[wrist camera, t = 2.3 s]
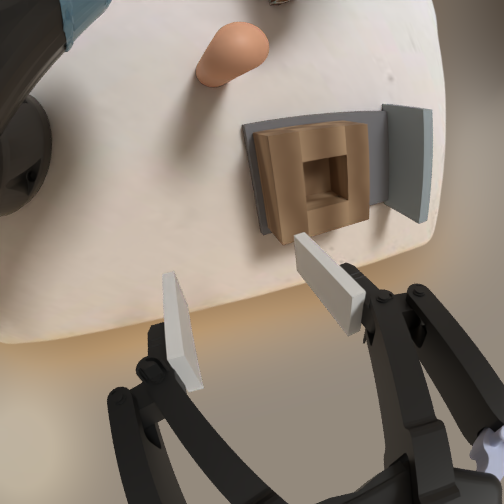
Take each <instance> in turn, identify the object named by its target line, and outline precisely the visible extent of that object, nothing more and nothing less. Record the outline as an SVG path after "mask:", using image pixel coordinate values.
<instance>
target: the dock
mask: <svg viewBox="0 0 504 504" xmlns="http://www.w3.org/2000/svg"><path fill="white" fill-rule="evenodd" d="M382 109H383V111H355V112H337V113H325V114H314V115H304V116H296V117H288V118H281V119H274V120H267V121H261V122H255V123H250V124H244V125H242V126H243V132H244V137H245V143H246V149H247V154H248V160H249V166H250V171H251V177H252V183H253V189H254V195H255V201H256V206H257V212H258V218H259V224H260V230H261V233H262V234H263V235H266V234H269V233H272V232H271V231H270V229H269V228H268V225H267V218H266V212H265V206H264V199H263V193H262V187H261V180H260V174H259V168H258V162H257V156H256V150H255V144H254V138H253V132H259V131H264V130H270V129H276V128H283V127H289V126H297V125H304V124H312V123H321V122H331V121H342V120H343V121H350V122H357V123H364V124H368V141H369V168H370V203H369V205H373V204H377V203H380V202H384V204H385V205H387V206H389V207H390V208H392V209H394V210H396V211H398V212H399V213H401V214H403V215H405V216H406V217H408V218H410V219H412V220H413V221H415V222H417V223H418V224H420V223H422V222H425V221H427V218H428V210H429V201H430V191H431V178H432V158H433V119H432V110H430V109H424V108H417V107H410V106H402V105H393V104H382Z"/></svg>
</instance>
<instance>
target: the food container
mask: <svg viewBox="0 0 504 504" xmlns="http://www.w3.org/2000/svg"><path fill="white" fill-rule="evenodd" d="M289 1H291V0H269V3H270V5H280V4H283V3H286V2H289Z"/></svg>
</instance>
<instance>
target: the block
mask: <svg viewBox="0 0 504 504" xmlns="http://www.w3.org/2000/svg"><path fill="white" fill-rule="evenodd" d="M253 138H254V144H255V150H256V156H257V162H258V168H259V174H260V180H261V187H262V193H263V199H264V206H265V212H266V218H267V225H268V228H269V229H270V231H271V232H272V233H273V234H274V235H275V236H276V238H277V239H278V240H279V241H280V242H281V243H282V245H285V244H289V243H292V242H294V235H296V234H300V233H303V232H305V233H306V234H307V235H308V236H309V237H312V236H315V235H318V234H322V233H325V232H328V231H332V230H335V229H338V228H342V227H345V226H348V225H352V224H355V223H358V222H361V221H365V220H368V219H369V203H370V168H369V141H368V124H364V123H357V122H350V121H343V120H342V121H331V122H321V123H312V124H304V125H297V126H289V127H283V128H276V129H270V130H264V131H259V132H253Z"/></svg>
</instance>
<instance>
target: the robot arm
mask: <svg viewBox="0 0 504 504" xmlns="http://www.w3.org/2000/svg"><path fill="white" fill-rule="evenodd" d="M111 1H112V0H0V216H5V215H8V214H11V213H13V212H15V211H17V210H18V209H20V208H21V207H22V206H24V205H25V204H26V203H27V202H29V201H30V200H31V199H32V198H33V197H34V196H35V194H36V193H37V192H38V190H39V189H40V187H41V185H42V183H43V181H44V179H45V177H46V174H47V171H48V167H49V163H50V158H51V149H52V138H51V129H50V125H49V121H48V118H47V115H46V113H45V111H44V109H43V107H42V106H41V104H40V103H39V102H38V101H37V100H36V99H35V98H34V97H33V96H31V95H29V93H30V92H31V91H32V89H33V88H34V87H35V85H36V84H37V83H38V82H39V80H40V79H41V78H42V77H43V75H44V74H45V73H46V72H47V71H48V70H49V68H50V67H51V66H52V65H53V64H54V63H55V62H56V61H57V60H58V58H59V57H60V56H61V55H62V54H63V53H64V52H68V51H69V50H70V49H71V47H72V45H73V42H74V41H75V40H76V39H77V38H78V37H79V36H80V34H81V33H82V32H83V31H84V30H86V29H87V28H88V27H89V26H90V25H91V24H92V23H93V22H94V21H95V20H96V19H97V18H98V17H99V16H100V15H102V14H103V12H104V11H105V10H106V9H107V8H108V6H109V4H110V3H111ZM294 244H295V255H296V266H297V271H298V273H299V274H300V275H301V276H302V278H303V279H304V280H305V281H306V283H307V284H308V285H309V286H310V288H311V289H312V290H313V292H314V293H315V294H316V295H317V297H318V298H319V299H320V301H321V302H322V303H323V304H324V306H325V307H326V308H327V310H328V311H329V312H330V313H331V315H332V316H333V317H334V319H335V320H336V321H337V323H338V324H339V325H340V326H341V328H342V329H343V330H344V332H345V333H346V334H347V336H350V335H352V334H354V333H356V332H358V331H360V328H361V323H362V324H363V326H364V327H365V334H364V339H363V343H365V341H366V340H367V345H368V349H369V354H370V358H371V363H372V368H373V372H374V377H375V383H376V388H377V393H378V398H379V405H380V411H381V417H382V424H383V431H384V438H385V454H384V471H382V472H381V473H379V474H377V475H376V476H375V477H373V478H372V479H370V480H369V481H367V482H366V483H365V484H364V485H363V486H361V487H360V488H359V489H357V490H356V491H355V492H354V493H350V494H345V495H341V496H337V497H332V498H329V499H326V500H324V501H321V502H319V503H317V504H502V486H501V483H500V480H501V479H502V477H503V476H504V385H503V383H502V382H501V380H500V379H499V377H498V376H497V374H496V373H495V371H494V370H493V368H492V367H491V365H490V364H489V363H488V361H487V360H486V358H485V357H484V356H483V354H482V353H481V352H480V351H479V349H478V348H477V346H476V345H475V344H474V342H473V341H472V340H471V339H470V337H469V336H468V335H467V333H466V332H465V331H464V330H463V328H462V327H461V326H460V325H459V323H458V322H457V321H456V320H455V319H454V318H453V316H452V315H451V314H450V313H449V311H448V310H447V309H446V308H445V307H444V306H443V304H442V303H441V302H440V301H439V300H438V299H437V298H436V296H435V295H434V294H433V293H432V292H431V291H430V290H429V289H428V288H427V287H426V286H424V285H422V284H412V285H410V286H409V288H408V290H407V293H402V294H396V295H394V294H393V293H392V292H390V291H387V290H379V289H378V288H377V287H376V286H375V285H374V284H373V283H372V282H371V281H370V280H369V279H368V278H367V277H366V276H364V275H363V274H362V273H361V272H360V271H359V270H358V269H357V268H356V267H355V266H353V265H351V264H349V263H344V264H341V265H339V264H337V263H336V262H335V261H334V260H333V259H332V258H331V257H330V256H329V255H328V254H327V253H326V252H325V251H324V250H323V249H322V248H321V247H320V246H319V245H318V244H317V243H316V242H314V241H313V240H312V239H311V238H310V237H309V236H308V235H307V234H306V233H305V232H303V233H300V234H296V235H294ZM162 283H163V309H164V322H162V323H159V324H155V325H151V327H150V330H149V332H148V356H147V357H144V358H143V359H142V360H140V361H139V363H138V364H137V367H136V374H137V375H138V377H139V378H140V379H141V380H142V383H141V384H139V385H138V386H136V387H134V388H132V389H130V390H129V389H127V388H125V387H117V388H115V389H113V390H112V391H111V392H110V393H109V395H108V399H107V405H108V413H109V420H110V427H111V433H112V439H113V444H114V449H115V454H116V459H117V463H118V468H119V472H120V476H121V480H122V484H123V487H124V491H125V494H126V498H127V501H128V504H187V503H186V501H185V499H184V496H183V494H182V492H181V489H180V487H179V484H178V482H177V479H176V477H175V474H174V471H173V469H172V466H171V463H170V460H169V457H168V454H167V452H166V448H165V446H164V442H163V439H162V436H161V433H160V429H159V426H158V422H159V421H161V420H163V419H166V420H167V422H168V423H169V425H170V427H171V428H172V429H173V431H174V432H175V434H176V435H177V437H178V438H179V440H180V441H181V443H182V444H183V445H184V447H185V448H186V449H187V451H188V452H189V454H190V455H191V456H192V458H193V459H194V460H195V462H196V463H197V464H198V466H199V467H200V468H201V469H202V470H203V472H204V473H205V474H206V475H207V477H208V478H209V479H210V480H211V481H212V483H213V484H214V485H215V486H216V487H217V489H218V490H219V491H220V492H221V493H222V494H223V495H224V496H225V498H226V499H227V500H228V501H229V502H230V503H231V504H288V503H287V502H285V501H284V500H283V499H282V498H281V497H280V496H279V495H277V494H276V493H275V492H274V491H273V490H272V489H271V488H270V487H268V486H267V485H266V484H265V483H264V482H263V481H262V480H261V479H260V478H259V477H258V476H257V475H256V474H255V473H254V472H253V471H252V470H251V469H250V468H249V467H248V466H247V465H246V464H245V463H244V462H243V461H242V460H241V459H240V458H239V456H237V454H236V453H235V452H234V451H233V450H232V449H231V448H230V447H229V446H228V445H227V443H226V442H225V441H224V440H223V439H222V438H221V437H220V435H219V434H218V433H217V432H216V431H215V429H213V427H212V426H211V425H210V423H209V422H208V421H207V420H206V419H205V417H204V416H203V415H202V414H201V412H200V411H199V410H198V409H197V407H196V406H195V405H194V403H193V402H192V401H191V399H190V398H189V397H188V395H187V393H186V389H187V390H188V391H189V392H191V391H195V390H199V389H203V388H204V387H203V383H202V378H201V374H200V369H199V364H198V359H197V354H196V349H195V344H194V339H193V334H192V328H191V323H190V316H189V310H188V305H187V302H186V300H185V297H184V295H183V292H182V290H181V287H180V285H179V282H178V280H177V277H176V274H175V272H174V271H172V272H169V273H165V274H162ZM419 360H420V361H419ZM420 362H421V363H422V365H423V366H424V368H425V370H426V371H427V373H428V374H429V376H430V378H431V379H432V381H433V383H434V384H435V386H436V388H437V389H438V391H439V393H440V394H441V396H442V398H443V400H444V402H445V403H446V405H447V407H448V408H449V410H450V412H451V414H452V416H453V418H454V419H455V421H456V423H457V425H458V427H459V429H460V431H461V432H462V434H463V435H464V437H465V438H466V439H467V441H468V442H469V443H470V444H471V445H472V446H473V447H472V450H471V452H470V458H471V459H472V460H476V463H477V470H476V471H471V470H465V469H460V468H454V467H453V464H452V458H451V452H450V447H449V442H448V438H447V433H446V429H445V426H444V423H443V422H442V421H441V420H438V419H437V418H436V416H435V413H434V409H433V405H432V401H431V397H430V394H429V390H428V387H427V383H426V380H425V377H424V373H423V370H422V367H421V364H420Z"/></svg>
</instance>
